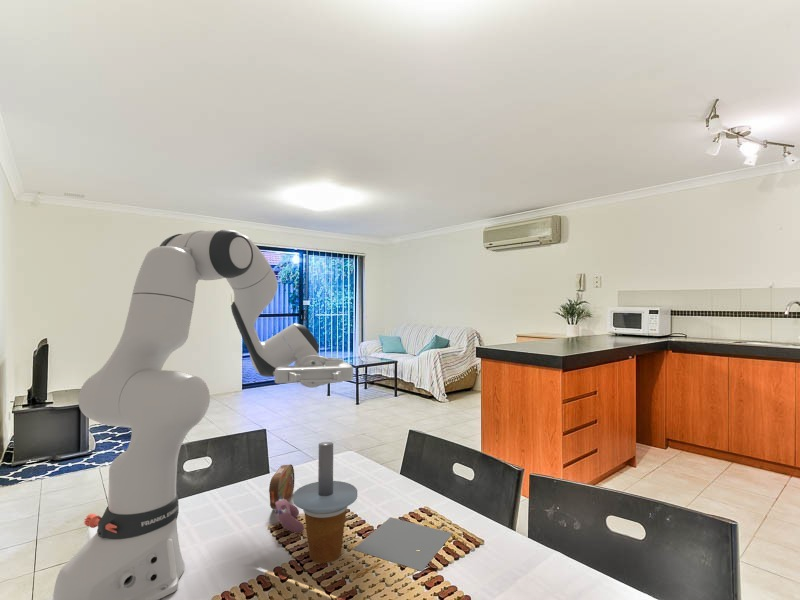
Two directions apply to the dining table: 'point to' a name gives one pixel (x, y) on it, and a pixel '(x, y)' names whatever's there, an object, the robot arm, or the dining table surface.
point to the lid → (325, 487)
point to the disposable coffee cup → (325, 534)
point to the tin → (281, 484)
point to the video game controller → (288, 516)
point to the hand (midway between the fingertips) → (317, 377)
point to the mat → (404, 543)
